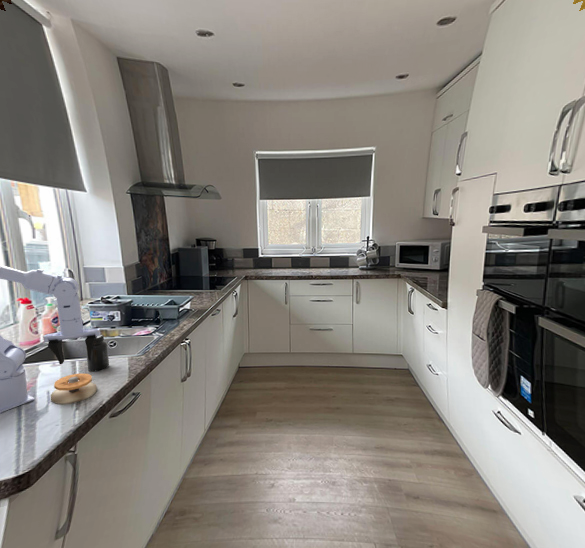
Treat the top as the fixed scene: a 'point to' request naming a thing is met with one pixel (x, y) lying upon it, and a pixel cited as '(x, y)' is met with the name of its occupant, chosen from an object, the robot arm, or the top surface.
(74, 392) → the post stand
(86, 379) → the rubber ring
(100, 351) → the supplement bottle
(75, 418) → the top surface
